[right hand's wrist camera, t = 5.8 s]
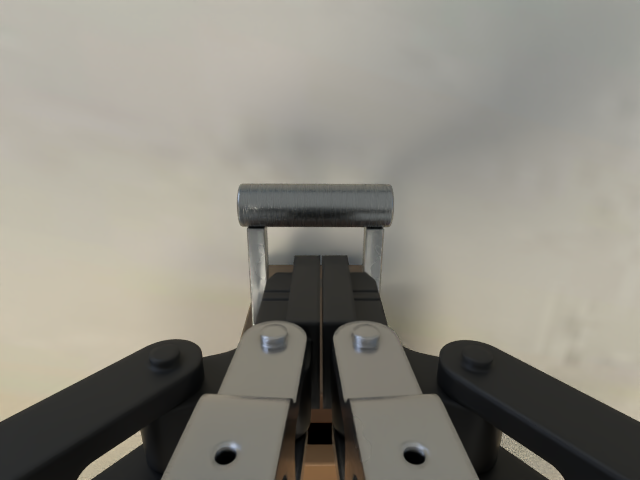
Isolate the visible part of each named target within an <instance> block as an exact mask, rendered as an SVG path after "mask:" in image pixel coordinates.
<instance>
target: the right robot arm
mask: <svg viewBox="0 0 640 480" xmlns="http://www.w3.org/2000/svg"><path fill="white" fill-rule="evenodd" d="M322 370H323V409H332V444H333V452H334V460H335V468H336V475H337V480H549V479H547V478H546V477H544V476H543V475H541V474H540V473H539V472H537V471H536V470H534V469H533V468H531V467H530V466H528V465H527V464H526V463H524V462H523V461H521V460H520V459H518V458H517V457H516V456H514V455H513V454H511V453H510V452H508V451H507V450H505V449H504V448H503V447H501V446H500V442H501V437H502V432H503V433H505V434H506V435H508V436H509V437H511V438H513V439H514V440H516V441H517V442H519V443H520V444H522V445H523V446H525V447H526V448H528V449H529V450H531V451H532V452H534V453H535V454H537V455H538V456H540V457H541V458H543V459H544V460H546V461H547V462H549V463H550V464H551V465H553V466H554V467H555V468H556V469H557V470H558V471H559V472H560V473H561V475H562V476H563V478H564V479H565V480H640V422H639V421H637V420H635V419H633V418H631V417H629V416H627V415H625V414H623V413H621V412H619V411H617V410H615V409H613V408H611V407H610V406H608V405H606V404H604V403H602V402H600V401H598V400H596V399H594V398H592V397H590V396H588V395H586V394H584V393H582V392H581V391H579V390H577V389H575V388H573V387H571V386H569V385H567V384H565V383H563V382H561V381H559V380H557V379H555V378H553V377H551V376H550V375H548V374H546V373H544V372H542V371H540V370H538V369H536V368H534V367H532V366H530V365H528V364H526V363H524V362H522V361H521V360H519V359H517V358H515V357H513V356H511V355H509V354H507V353H505V352H503V351H501V350H499V349H497V348H495V347H493V346H491V345H488V344H485V343H482V342H478V341H471V340H459V341H454V342H450V343H448V344H446V345H445V346H444V347H443V348H442V349H441V351H440V355H439V357H437V356H432V355H427V354H422V353H418V352H415V351H412V350H409V349H407V348H405V347H403V346H402V344H401V342H400V340H399V337H398V335H397V334H396V333H395V332H394V331H393V330H392V329H391V328H389V327H388V325H387V321H386V318H385V314H384V310H383V306H382V303H381V301H380V295H379V292H378V288H377V284H376V280H374V279H373V278H372V277H371V276H370V275H369V274H368V273H366V272H350V270H349V263H348V257H347V256H322ZM311 409H320V256H295V258H294V265H293V272H276V273H275V274H274V275H272V276H271V277H270V278H269V279H268V280H267V281H266V285H265V289H264V293H263V297H262V301H261V305H260V309H259V312H258V316H257V320H256V324H255V325H254V326H252V327H251V328H249V329H248V330H247V331H246V332H245V333H244V334H243V335H242V337H241V340H240V342H239V344H238V347H237V348H236V349H234V350H231V351H229V352H225V353H221V354H217V355H212V356H207V357H202V351H201V349H200V347H199V346H198V345H196V344H195V343H193V342H191V341H187V340H181V339H173V340H165V341H160V342H157V343H154V344H151V345H149V346H147V347H145V348H143V349H141V350H139V351H137V352H135V353H133V354H131V355H129V356H127V357H125V358H123V359H121V360H119V361H118V362H116V363H114V364H112V365H110V366H108V367H106V368H104V369H102V370H100V371H98V372H96V373H94V374H92V375H90V376H89V377H87V378H85V379H83V380H81V381H79V382H77V383H75V384H73V385H71V386H69V387H67V388H65V389H63V390H61V391H60V392H58V393H56V394H54V395H52V396H50V397H48V398H46V399H44V400H42V401H40V402H38V403H36V404H34V405H32V406H30V407H29V408H27V409H25V410H23V411H21V412H19V413H17V414H15V415H13V416H11V417H9V418H7V419H5V420H3V421H1V422H0V480H77V479H78V477H79V475H80V474H81V473H82V471H83V470H84V469H85V468H86V467H87V466H88V465H89V464H90V463H92V462H93V461H94V460H96V459H97V458H99V457H100V456H102V455H103V454H105V453H106V452H108V451H109V450H111V449H112V448H114V447H116V446H117V445H119V444H120V443H122V442H123V441H125V440H126V439H128V438H129V437H131V436H132V435H134V434H135V433H137V432H138V431H141V435H142V440H143V444H142V445H140V446H139V447H137V448H136V449H135V450H133V451H132V452H130V453H129V454H127V455H126V456H124V457H123V458H122V459H120V460H119V461H117V462H116V463H114V464H113V465H112V466H110V467H109V468H107V469H106V470H104V471H103V472H101V473H100V474H99V475H97V476H96V477H94V478H93V479H91V480H303V475H304V468H305V460H306V452H307V444H308V428H309V425H310V422H311Z"/></svg>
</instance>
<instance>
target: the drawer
mask: <svg viewBox="0 0 640 480" xmlns="http://www.w3.org/2000/svg"><path fill="white" fill-rule="evenodd" d="M393 212H394V196H393V189H392V186H391V185H389V184H240V186H239V189H238V195H237V213H238V220H239V223H240V225H241V226H243V227H248V228H247V239H248V256H249V272H250V289H251V306H250V310H249V313H248V317H247V320H246V323H245V327H244V330H243V334H244V333H245V332H246V331H247V330H248V329H249V328H251V327H252V326H254V325H255V324H256V320H257V316H258V312H259V309H260V305H261V301H262V297H263V293H264V289H265V285H266V281H267V280H268V279H269V278H270V277H271V276H272V275H274V274H275V273H276V272H293V265H269V263H268V239H267V227H364V241H363V262H362V265H349V270H350V272H366V273H368V274H369V275H370V276H371V277H372V278H373V279H374V280H376V284H377V288H378V292H379V295H380V284H381V268H382V253H383V237H384V229H383V227H390V226H391V223H392V220H393ZM243 334H242V335H243ZM307 445H333V444H332V409H323V370H322V265H320V409H311V422H310V425H309V428H308V444H307Z"/></svg>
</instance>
